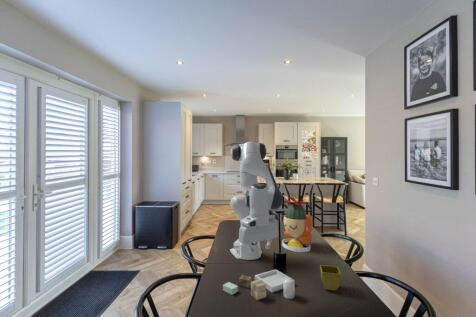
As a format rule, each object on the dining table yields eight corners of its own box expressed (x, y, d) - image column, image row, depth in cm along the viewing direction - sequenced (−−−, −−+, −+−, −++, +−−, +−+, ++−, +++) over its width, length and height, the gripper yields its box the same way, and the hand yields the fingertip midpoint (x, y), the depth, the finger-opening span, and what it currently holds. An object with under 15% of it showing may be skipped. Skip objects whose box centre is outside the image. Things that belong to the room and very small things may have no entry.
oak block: (250, 295, 114) (250, 281, 114) (259, 292, 117) (259, 279, 117) (257, 300, 110) (257, 286, 110) (266, 297, 113) (266, 283, 113)
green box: (222, 291, 118) (222, 285, 118) (228, 288, 121) (228, 281, 121) (232, 295, 114) (232, 289, 114) (237, 292, 117) (237, 286, 117)
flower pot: (338, 284, 124) (338, 266, 124) (341, 293, 116) (341, 274, 116) (319, 282, 126) (319, 264, 126) (321, 291, 118) (321, 272, 118)
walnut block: (238, 286, 122) (239, 278, 122) (242, 282, 126) (242, 274, 126) (248, 288, 120) (248, 280, 120) (251, 285, 124) (251, 276, 124)
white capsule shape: (281, 294, 115) (281, 279, 115) (289, 291, 117) (289, 276, 117) (288, 300, 110) (288, 284, 110) (296, 296, 113) (297, 281, 113)
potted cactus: (298, 255, 162) (299, 201, 162) (275, 245, 181) (276, 196, 181) (320, 249, 174) (321, 198, 174) (297, 240, 193) (297, 194, 193)
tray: (254, 280, 128) (254, 275, 128) (275, 273, 136) (275, 269, 136) (271, 292, 116) (271, 287, 116) (294, 284, 124) (294, 279, 124)
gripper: (272, 216, 122) (272, 244, 122) (236, 221, 112) (237, 252, 111) (281, 218, 117) (281, 248, 117) (244, 224, 106) (244, 256, 106)
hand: (259, 250), depth 114 cm, fingers open, 8 cm apart
